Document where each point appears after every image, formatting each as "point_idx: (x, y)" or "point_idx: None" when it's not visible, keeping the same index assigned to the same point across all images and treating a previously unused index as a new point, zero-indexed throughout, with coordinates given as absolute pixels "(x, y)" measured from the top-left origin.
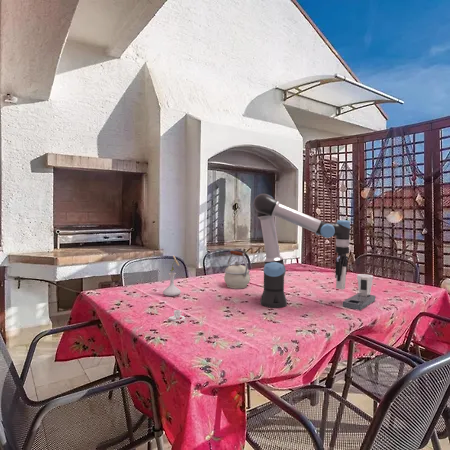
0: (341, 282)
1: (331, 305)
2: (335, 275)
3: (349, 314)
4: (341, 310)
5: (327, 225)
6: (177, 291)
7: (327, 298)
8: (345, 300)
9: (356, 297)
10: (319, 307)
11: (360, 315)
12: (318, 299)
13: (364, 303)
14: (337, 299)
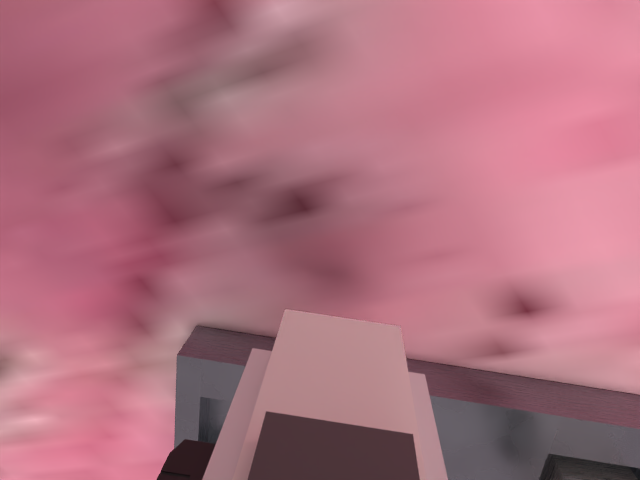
0: None
1: (170, 225)
2: (250, 469)
3: (20, 410)
4: (77, 340)
5: None
6: None
7: (446, 100)
8: (238, 372)
9: (443, 445)
10: (12, 137)
11: (58, 475)
12: (328, 8)
13: None
14: (461, 220)
